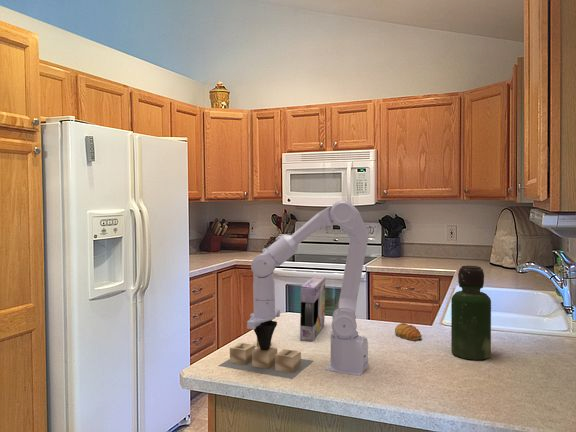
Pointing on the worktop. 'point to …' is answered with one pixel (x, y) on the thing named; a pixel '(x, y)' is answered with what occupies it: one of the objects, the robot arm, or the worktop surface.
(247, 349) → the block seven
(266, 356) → the plain block
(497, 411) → the worktop surface
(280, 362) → the block one
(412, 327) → the pastry
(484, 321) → the green bottle
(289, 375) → the tap mat
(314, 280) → the cake pan box
